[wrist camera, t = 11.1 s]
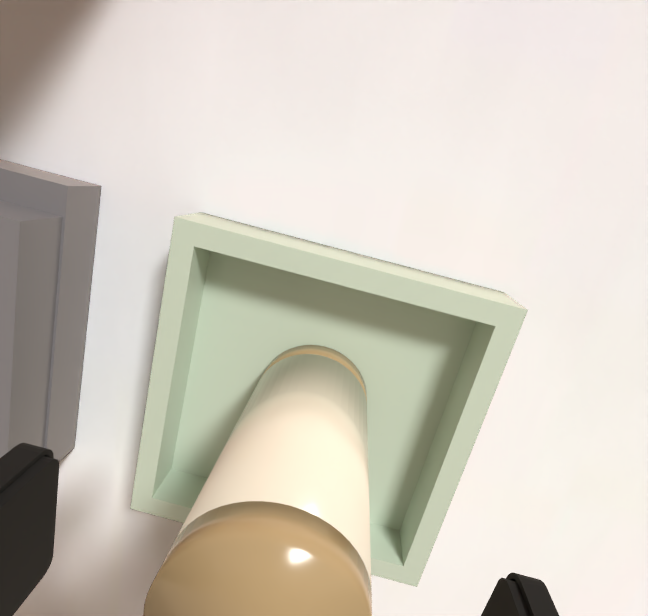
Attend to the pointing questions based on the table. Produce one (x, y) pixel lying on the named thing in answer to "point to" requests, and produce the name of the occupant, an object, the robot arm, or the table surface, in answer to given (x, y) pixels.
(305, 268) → the parts tray
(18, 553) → the robot arm
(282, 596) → the cylinder
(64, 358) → the socket block
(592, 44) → the table surface
